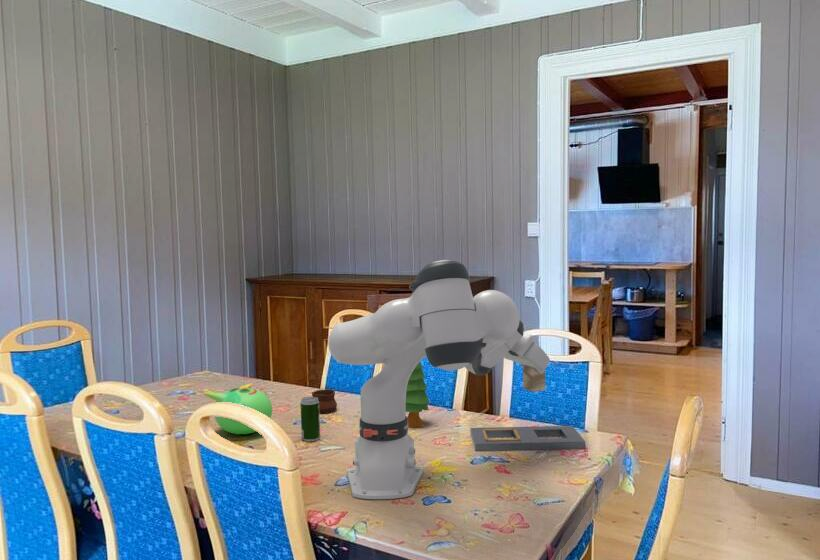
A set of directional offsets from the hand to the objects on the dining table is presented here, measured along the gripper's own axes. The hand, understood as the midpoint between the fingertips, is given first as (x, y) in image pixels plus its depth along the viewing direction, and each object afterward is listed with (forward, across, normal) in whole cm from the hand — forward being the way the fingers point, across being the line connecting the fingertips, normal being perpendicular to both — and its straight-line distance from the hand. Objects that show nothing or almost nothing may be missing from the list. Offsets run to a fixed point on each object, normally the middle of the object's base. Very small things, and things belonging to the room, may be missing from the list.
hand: (535, 369), depth 178 cm
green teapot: (-37, -49, -66) cm, 90 cm away
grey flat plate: (+12, 0, -17) cm, 21 cm away
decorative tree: (-2, -30, -31) cm, 43 cm away
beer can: (-26, -33, -54) cm, 68 cm away
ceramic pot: (-16, -60, -46) cm, 77 cm away
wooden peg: (+4, 0, -4) cm, 6 cm away
